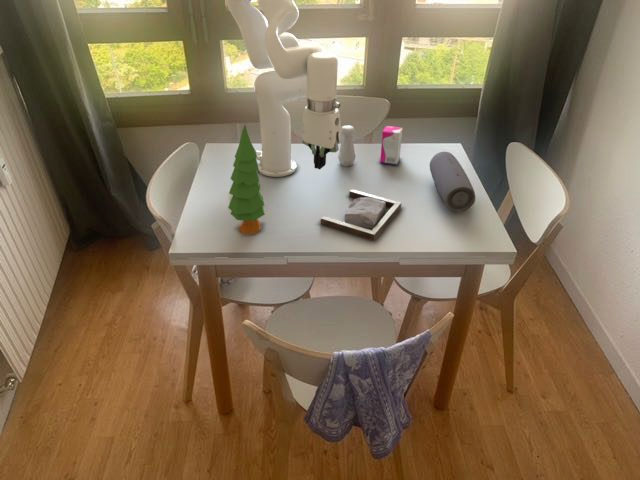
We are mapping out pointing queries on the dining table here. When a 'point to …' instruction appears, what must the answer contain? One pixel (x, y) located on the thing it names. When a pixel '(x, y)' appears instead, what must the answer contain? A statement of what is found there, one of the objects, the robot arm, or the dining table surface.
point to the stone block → (365, 212)
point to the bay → (361, 231)
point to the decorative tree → (246, 187)
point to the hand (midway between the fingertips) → (319, 166)
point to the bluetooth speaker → (452, 182)
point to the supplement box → (391, 145)
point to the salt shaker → (347, 146)
